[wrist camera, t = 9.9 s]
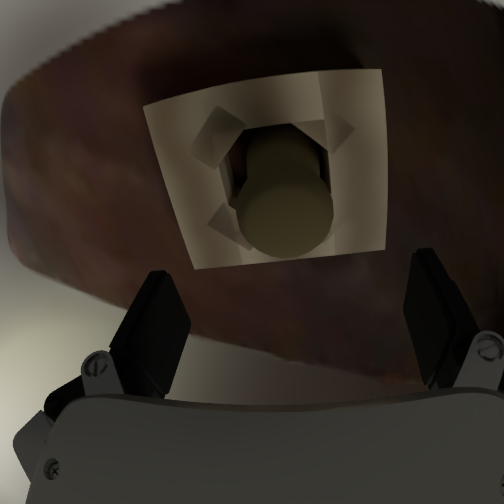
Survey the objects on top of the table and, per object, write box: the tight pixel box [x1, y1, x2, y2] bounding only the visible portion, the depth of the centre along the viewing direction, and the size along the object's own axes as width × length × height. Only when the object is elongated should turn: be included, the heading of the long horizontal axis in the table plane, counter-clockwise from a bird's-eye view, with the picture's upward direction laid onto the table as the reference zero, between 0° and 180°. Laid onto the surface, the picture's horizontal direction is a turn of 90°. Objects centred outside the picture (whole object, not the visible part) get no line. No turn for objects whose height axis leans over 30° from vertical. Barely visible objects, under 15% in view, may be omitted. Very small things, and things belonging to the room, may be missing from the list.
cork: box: [236, 124, 334, 258], centre depth 19 cm, size 6×6×11 cm
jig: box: [143, 69, 388, 269], centre depth 22 cm, size 16×14×4 cm
